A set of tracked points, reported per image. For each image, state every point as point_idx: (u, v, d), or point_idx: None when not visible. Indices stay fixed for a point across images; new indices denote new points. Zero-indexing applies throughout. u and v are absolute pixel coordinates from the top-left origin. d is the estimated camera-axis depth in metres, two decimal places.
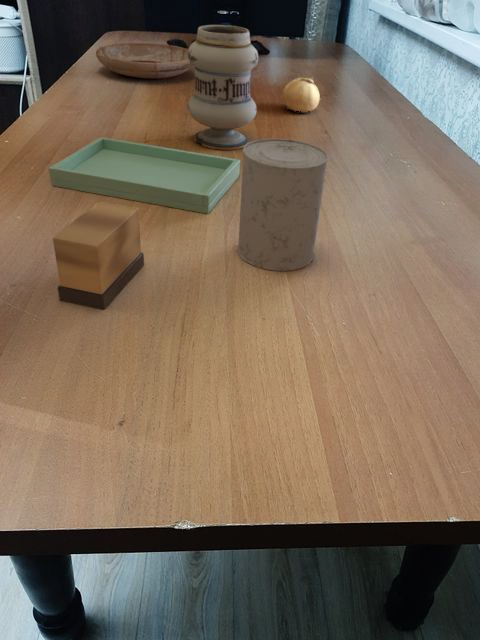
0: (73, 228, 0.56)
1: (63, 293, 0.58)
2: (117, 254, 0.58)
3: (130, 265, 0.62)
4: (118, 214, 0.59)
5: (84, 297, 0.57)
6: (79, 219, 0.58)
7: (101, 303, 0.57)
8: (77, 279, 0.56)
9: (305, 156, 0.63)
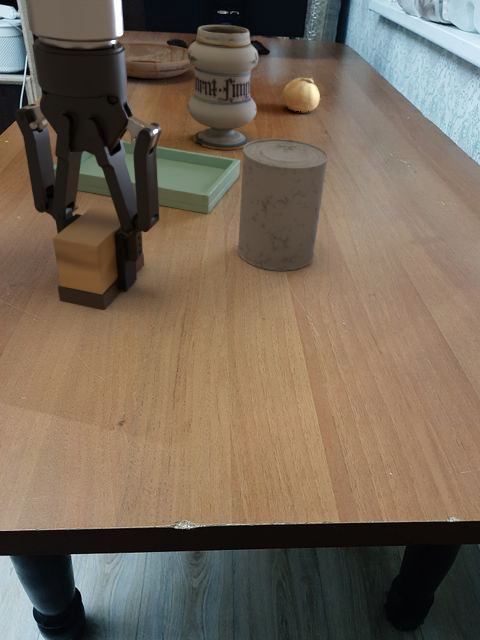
0: (73, 228, 0.56)
1: (63, 293, 0.58)
2: None
3: None
4: None
5: (84, 297, 0.57)
6: (79, 219, 0.58)
7: (101, 303, 0.57)
8: (77, 279, 0.56)
9: (305, 156, 0.63)
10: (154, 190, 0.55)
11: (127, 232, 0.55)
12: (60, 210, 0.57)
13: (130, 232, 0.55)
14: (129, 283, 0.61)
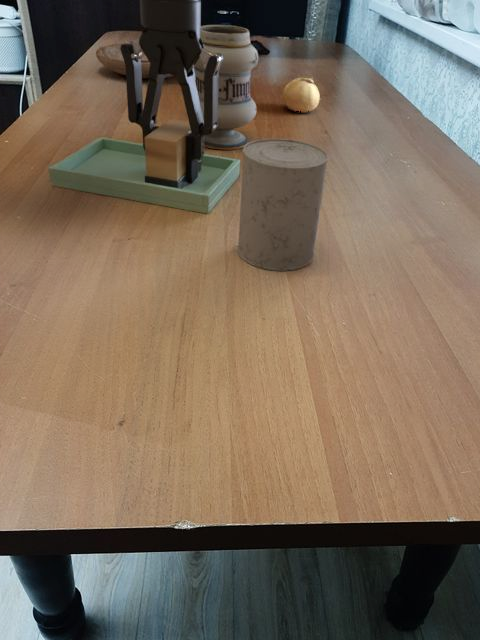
0: (157, 132, 0.79)
1: (148, 181, 0.80)
2: (186, 153, 0.81)
3: None
4: (186, 126, 0.82)
5: (163, 183, 0.80)
6: (159, 128, 0.80)
7: (176, 187, 0.80)
8: (159, 169, 0.79)
9: (305, 156, 0.63)
10: (216, 103, 0.77)
11: (196, 134, 0.78)
12: (147, 120, 0.79)
13: (198, 134, 0.78)
14: (193, 178, 0.83)
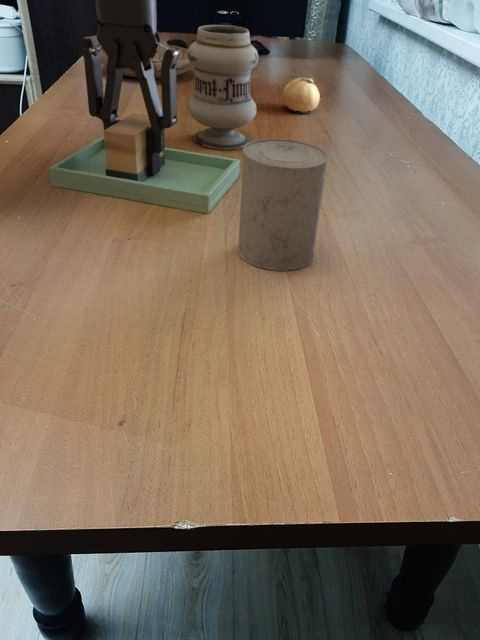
0: (117, 126, 0.79)
1: (109, 174, 0.81)
2: None
3: None
4: (148, 120, 0.83)
5: (124, 176, 0.81)
6: (120, 122, 0.81)
7: (136, 180, 0.81)
8: (119, 163, 0.80)
9: (305, 156, 0.63)
10: (174, 97, 0.78)
11: (155, 128, 0.79)
12: (107, 114, 0.80)
13: (157, 128, 0.79)
14: (155, 171, 0.84)
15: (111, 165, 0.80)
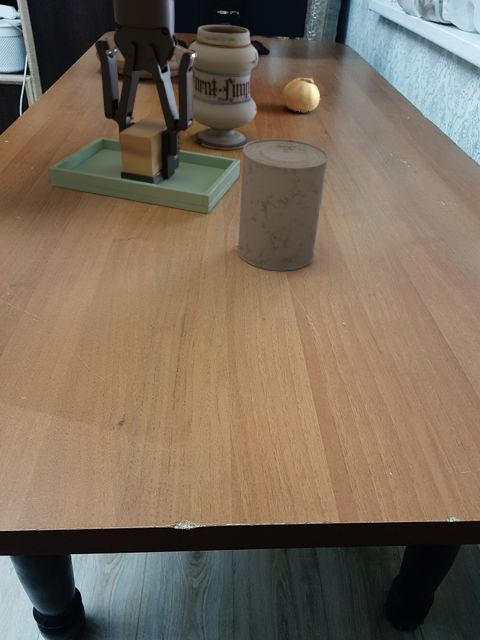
0: (132, 128, 0.79)
1: (124, 177, 0.81)
2: None
3: None
4: (163, 122, 0.82)
5: (139, 179, 0.80)
6: (135, 124, 0.81)
7: (151, 183, 0.80)
8: (135, 165, 0.80)
9: (305, 156, 0.63)
10: (191, 100, 0.78)
11: (171, 130, 0.79)
12: (123, 116, 0.80)
13: (173, 130, 0.78)
14: (170, 174, 0.84)
15: (126, 168, 0.80)
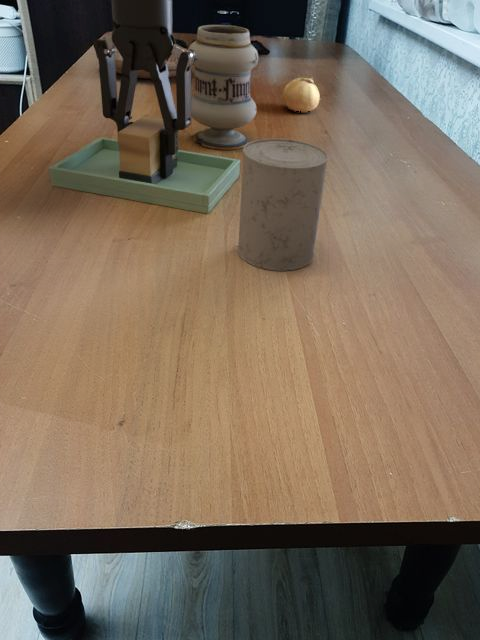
0: (130, 128, 0.79)
1: (122, 176, 0.81)
2: None
3: None
4: (161, 122, 0.82)
5: (137, 178, 0.80)
6: (134, 123, 0.81)
7: (150, 183, 0.80)
8: (133, 165, 0.80)
9: (305, 156, 0.63)
10: (189, 99, 0.78)
11: (169, 130, 0.79)
12: (121, 116, 0.80)
13: (171, 130, 0.79)
14: (168, 173, 0.84)
15: (125, 167, 0.80)
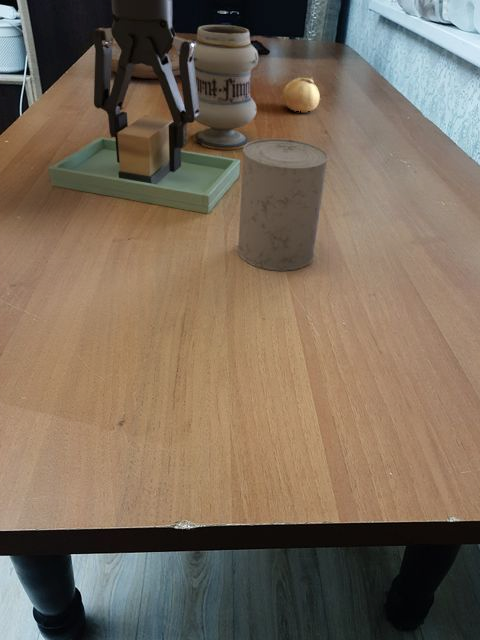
0: (130, 128, 0.79)
1: (122, 176, 0.81)
2: (160, 149, 0.81)
3: (168, 162, 0.85)
4: (161, 122, 0.82)
5: (137, 178, 0.80)
6: (133, 124, 0.81)
7: None
8: (133, 165, 0.80)
9: (305, 156, 0.63)
10: (195, 90, 0.77)
11: (178, 122, 0.78)
12: (113, 106, 0.79)
13: (180, 122, 0.78)
14: (176, 166, 0.83)
15: (124, 167, 0.80)
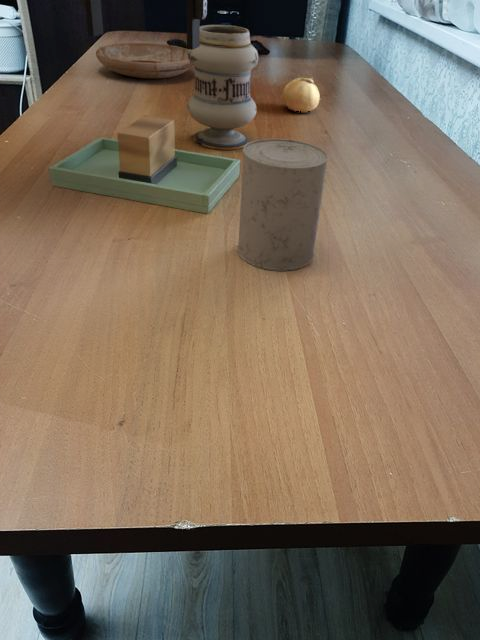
0: (130, 128, 0.79)
1: (122, 176, 0.81)
2: (160, 149, 0.81)
3: (168, 162, 0.85)
4: (161, 122, 0.82)
5: (137, 178, 0.80)
6: (133, 124, 0.81)
7: None
8: (133, 165, 0.80)
9: (305, 156, 0.63)
10: None
11: None
12: None
13: None
14: (194, 44, 0.73)
15: (124, 167, 0.80)
